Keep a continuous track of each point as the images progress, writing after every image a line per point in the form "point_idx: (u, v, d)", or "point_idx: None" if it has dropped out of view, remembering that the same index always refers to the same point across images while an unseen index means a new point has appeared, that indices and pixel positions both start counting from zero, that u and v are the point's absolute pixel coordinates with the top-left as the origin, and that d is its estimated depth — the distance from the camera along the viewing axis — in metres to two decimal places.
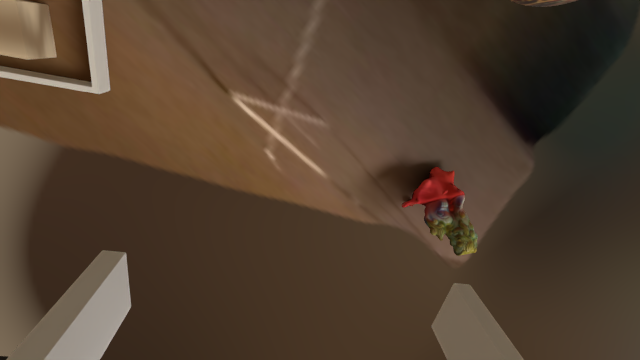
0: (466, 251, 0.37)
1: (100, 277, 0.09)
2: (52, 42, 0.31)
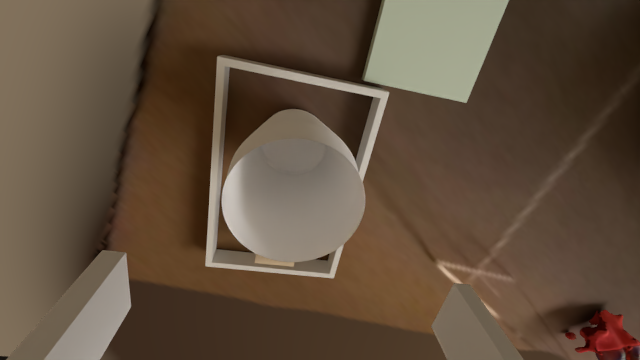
0: None
1: (99, 277, 0.09)
2: None
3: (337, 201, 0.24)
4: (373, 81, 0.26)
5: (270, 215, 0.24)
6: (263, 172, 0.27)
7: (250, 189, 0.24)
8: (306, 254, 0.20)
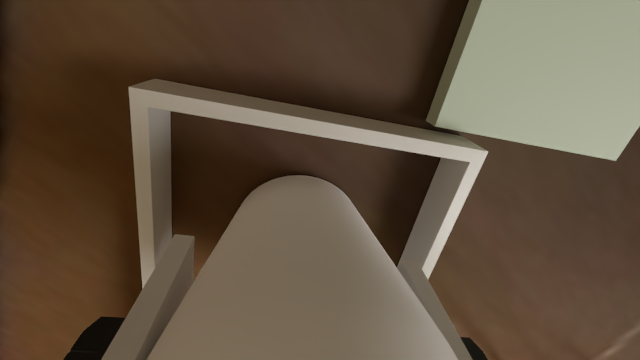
0: None
1: (179, 256, 0.11)
2: None
3: None
4: (452, 127, 0.13)
5: None
6: None
7: None
8: None
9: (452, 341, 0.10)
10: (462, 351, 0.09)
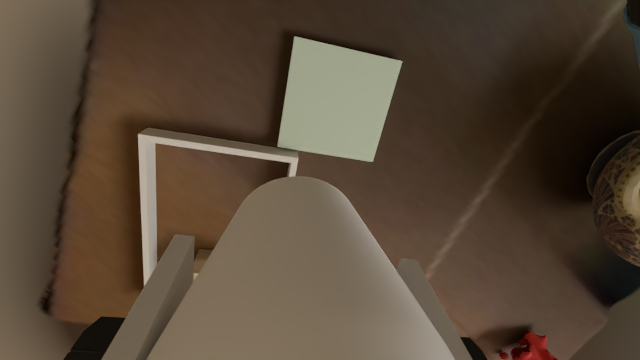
0: None
1: (179, 256, 0.11)
2: None
3: None
4: (286, 147, 0.29)
5: None
6: None
7: None
8: None
9: (452, 341, 0.10)
10: (462, 351, 0.09)
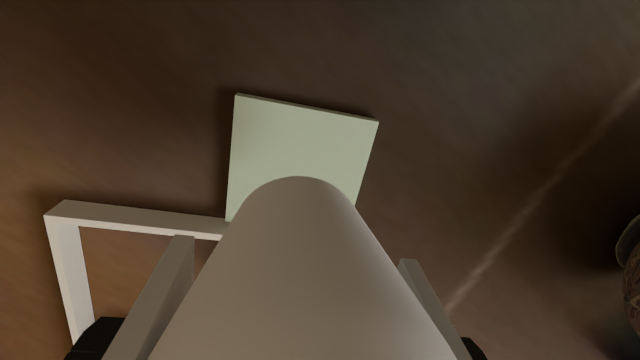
0: None
1: (179, 256, 0.11)
2: None
3: None
4: None
5: None
6: None
7: None
8: None
9: (452, 341, 0.10)
10: (462, 351, 0.09)
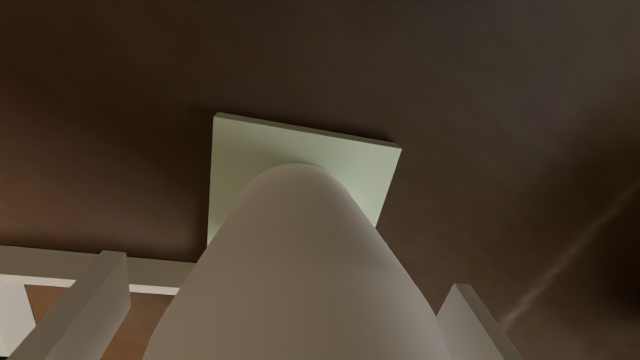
0: None
1: (99, 278, 0.09)
2: None
3: None
4: None
5: None
6: None
7: None
8: None
9: None
10: None
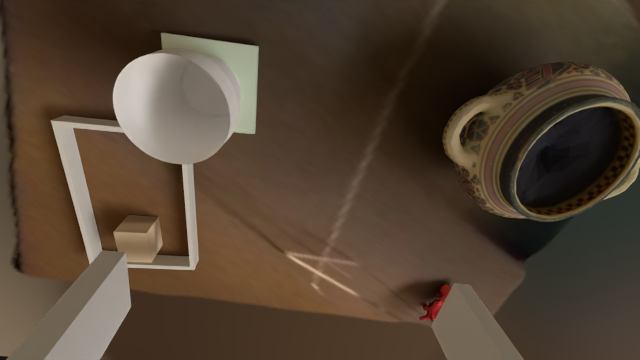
0: None
1: (99, 278, 0.09)
2: (160, 237, 0.43)
3: None
4: None
5: (181, 140, 0.29)
6: (184, 112, 0.33)
7: (164, 120, 0.29)
8: (198, 159, 0.26)
9: None
10: None
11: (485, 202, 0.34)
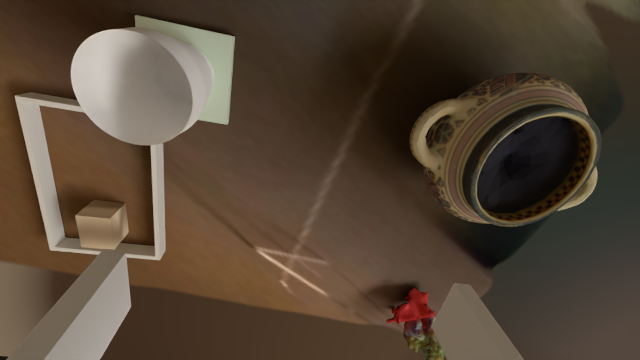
0: None
1: (100, 277, 0.09)
2: (126, 225, 0.42)
3: None
4: None
5: (146, 123, 0.29)
6: (155, 96, 0.32)
7: (130, 102, 0.29)
8: (159, 142, 0.25)
9: None
10: None
11: (449, 205, 0.34)
